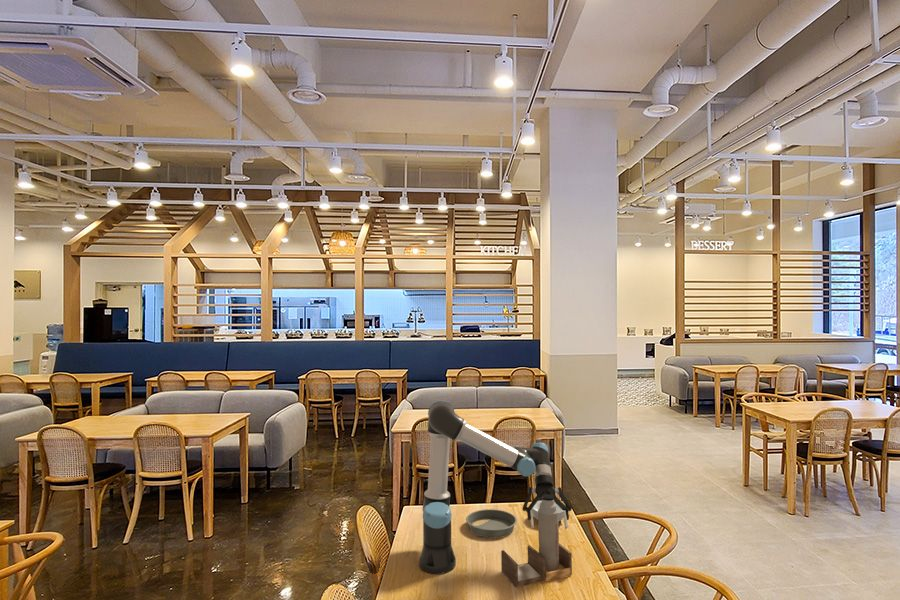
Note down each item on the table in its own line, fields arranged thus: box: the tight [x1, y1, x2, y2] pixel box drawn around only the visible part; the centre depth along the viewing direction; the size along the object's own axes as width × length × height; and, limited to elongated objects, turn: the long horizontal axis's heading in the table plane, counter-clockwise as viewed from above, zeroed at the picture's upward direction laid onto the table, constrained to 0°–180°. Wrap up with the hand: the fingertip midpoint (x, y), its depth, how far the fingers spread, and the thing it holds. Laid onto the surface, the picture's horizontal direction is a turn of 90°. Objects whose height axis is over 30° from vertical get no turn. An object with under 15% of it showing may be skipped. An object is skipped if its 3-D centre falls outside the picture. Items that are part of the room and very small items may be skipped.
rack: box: [500, 543, 573, 588], centre depth 197 cm, size 25×13×8 cm, turn 111°
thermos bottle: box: [537, 494, 560, 571], centre depth 200 cm, size 8×8×28 cm
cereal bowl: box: [531, 500, 564, 522], centre depth 247 cm, size 17×17×7 cm
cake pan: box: [465, 508, 518, 539], centre depth 240 cm, size 25×25×4 cm
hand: (549, 527), depth 199 cm, fingers open, 13 cm apart
